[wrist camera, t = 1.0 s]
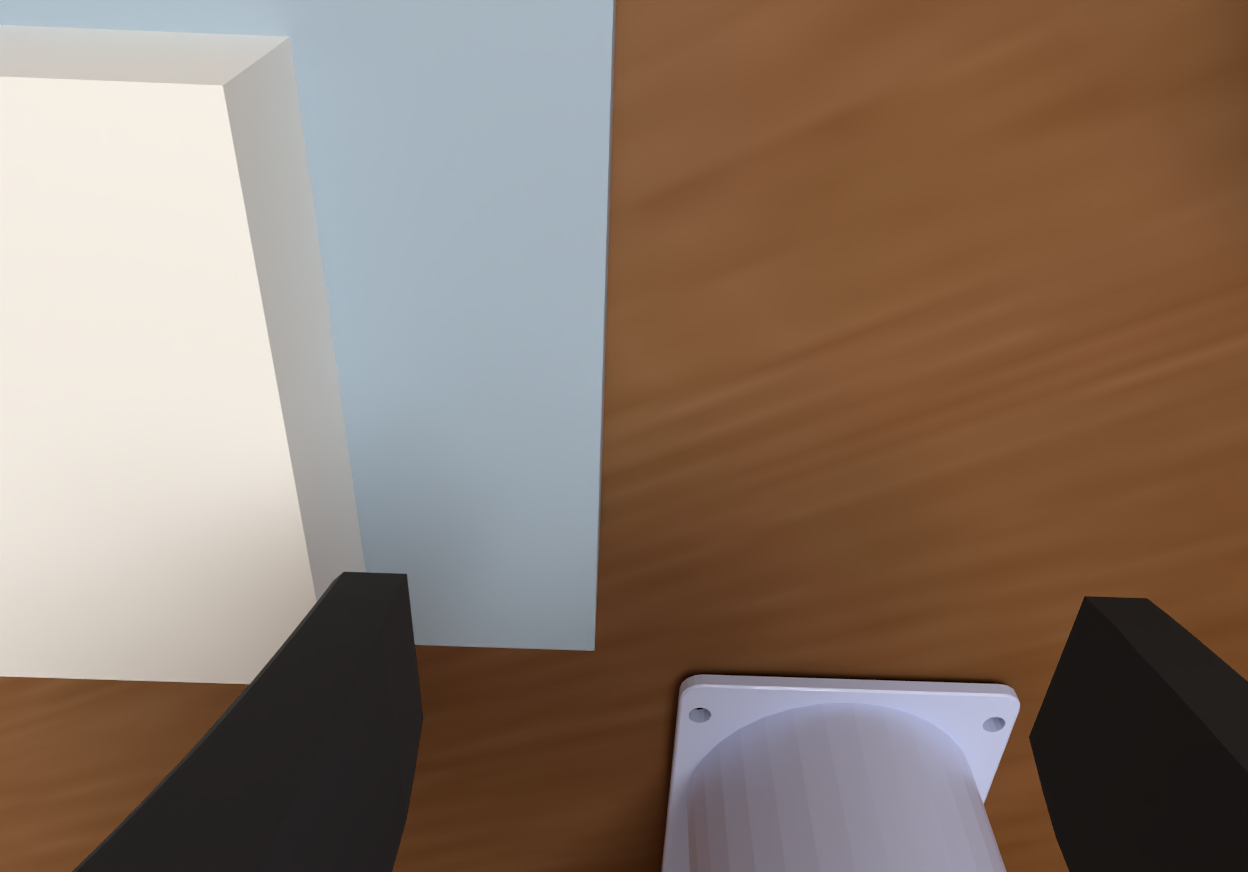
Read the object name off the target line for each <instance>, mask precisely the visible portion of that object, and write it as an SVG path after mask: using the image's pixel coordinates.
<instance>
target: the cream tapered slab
mask: <svg viewBox="0 0 1248 872" xmlns="http://www.w3.org/2000/svg"><path fill="white" fill-rule="evenodd" d="M343 572H366V570H365V563H364V556H363V549H362V542H361V535H360V527H359V520H358V513H357V506H356V499H355V492H354V485H353V478H352V471H351V464H350V457H349V450H348V443H347V435H346V428H345V421H344V414H343V407H342V400H341V393H340V386H339V379H338V372H337V365H336V358H335V351H334V343H333V336H332V329H331V322H330V315H329V308H328V301H327V294H326V287H325V280H324V273H323V266H322V259H321V251H320V244H319V237H318V230H317V223H316V216H315V209H314V202H313V195H312V188H311V181H310V174H309V167H308V159H307V152H306V145H305V138H304V131H303V124H302V117H301V110H300V103H299V96H298V89H297V82H296V75H295V67H294V60H293V53H292V46H291V39H290V37H285V36H260V35H236V34H212V33H187V32H163V31H139V30H114V29H90V28H66V27H41V26H17V25H0V676H9V677H40V678H71V679H103V680H134V681H165V682H197V683H228V684H250V683H251V682H252V681H253V680H254V678H255V677H256V676H257V675H258V674H259V672H260V671H261V670H262V669H263V668H264V666H265V665H266V664H267V663H268V662H269V660H270V659H271V658H272V657H273V656H274V654H275V653H276V652H277V651H278V650H279V648H280V647H281V646H282V645H283V644H284V642H285V641H286V640H287V639H288V637H289V636H290V635H291V634H292V632H293V631H294V630H295V629H296V627H297V626H298V625H299V624H300V622H301V621H302V620H303V619H304V617H305V616H306V615H307V614H308V612H309V611H310V610H311V609H312V607H313V606H314V605H315V604H316V602H317V601H318V600H319V598H320V597H321V596H322V595H323V593H324V592H325V591H326V589H327V588H328V587H329V586H330V584H331V583H332V582H333V580H335V579H336V578H337V577H338V576H339V575H341V574H342V573H343Z"/></svg>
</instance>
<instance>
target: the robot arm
mask: <svg viewBox="0 0 1248 872" xmlns="http://www.w3.org/2000/svg"><path fill="white" fill-rule="evenodd" d="M695 708H704V709H700V710H696V709H695ZM1019 710H1020V702H1019V700H1018V697H1017V695H1016V693H1015V691H1014V690H1013V689H1012V688H1011V687H1009V686H1007V685H1002V684H983V683H952V682H921V681H890V680H859V679H828V678H797V677H766V676H735V675H704V674H701V675H694V676H691V677H689V678H687V679H686V680H685V681H683V682H682V684H681V686H680V689H679V699H678V709H677V719H676V729H675V740H674V750H673V760H672V770H671V780H670V790H669V800H668V810H667V821H666V831H665V841H664V851H663V861H662V871H661V872H1006V869H1005V866H1004V863H1003V860H1002V857H1001V855H1000V852H999V849H998V846H997V843H996V840H995V837H994V834H993V831H992V828H991V825H990V823H989V820H988V817H987V814H986V811H985V808H984V805H983V804H984V802H985V799H986V797H987V794H988V791H989V789H990V786H991V783H992V781H993V778H994V775H995V773H996V770H997V768H998V765H999V762H1000V760H1001V757H1002V754H1003V752H1004V749H1005V747H1006V744H1007V741H1008V739H1009V736H1010V733H1011V731H1012V728H1013V725H1014V723H1015V720H1016V718H1017V715H1018V712H1019ZM989 718H990V719H989ZM422 721H423V714H422V705H421V696H420V687H419V678H418V669H417V660H416V651H415V642H414V633H413V624H412V615H411V606H410V597H409V588H408V579H407V574H400V573H370V572H343V573H342V574H341V575H339V576H338V577H337V578H336V579H335V580H333V582H332V583H331V584H330V586H329V587H328V588H327V589H326V591H325V592H324V593H323V595H322V596H321V597H320V598H319V600H318V601H317V602H316V604H315V605H314V606H313V607H312V609H311V610H310V611H309V612H308V614H307V615H306V616H305V617H304V619H303V620H302V621H301V622H300V624H299V625H298V626H297V627H296V629H295V630H294V631H293V632H292V634H291V635H290V636H289V637H288V639H287V640H286V641H285V642H284V644H283V645H282V646H281V647H280V648H279V650H278V651H277V652H276V653H275V654H274V656H273V657H272V658H271V659H270V660H269V662H268V663H267V664H266V665H265V666H264V668H263V669H262V670H261V671H260V672H259V674H258V675H257V676H256V677H255V678H254V680H253V681H252V682H251V683H250V684H249V685H248V687H247V688H246V689H245V690H244V691H243V692H242V693H241V695H240V696H239V697H238V698H237V699H236V700H235V701H234V702H233V704H232V705H231V706H230V707H229V708H228V709H227V710H226V712H225V713H224V714H223V715H222V716H221V717H220V718H219V720H218V721H217V722H216V723H215V724H214V725H213V726H212V728H211V729H210V730H209V731H208V732H207V733H206V734H205V735H204V737H203V738H202V739H201V740H200V741H199V742H198V743H197V744H196V746H195V747H194V748H193V749H192V750H191V751H190V752H189V753H188V754H187V755H186V756H185V758H184V759H183V760H182V761H181V762H180V763H179V764H178V765H177V766H176V767H175V768H174V769H173V770H172V771H171V772H170V773H169V774H168V775H167V776H166V777H165V778H164V779H163V781H162V782H161V783H160V784H159V785H158V786H157V787H156V788H155V789H154V790H153V791H152V792H151V793H150V794H149V795H148V796H147V797H146V798H145V799H144V800H143V801H142V802H141V803H140V804H139V805H138V806H137V807H136V809H135V810H134V811H133V812H132V813H131V814H130V815H129V816H128V817H127V818H126V819H125V820H124V821H123V822H122V823H121V824H120V825H119V826H118V827H117V828H116V829H115V830H114V831H113V832H112V833H111V834H110V835H109V836H108V837H107V838H106V839H105V840H104V841H103V842H102V843H101V844H100V845H99V846H98V847H97V848H96V849H95V850H94V851H93V852H92V853H91V854H90V855H89V856H88V857H87V858H86V859H85V860H84V861H83V862H82V863H81V864H80V865H78V866H77V867H76V868H75V869H74V870H73V871H72V872H392V870H393V866H394V863H395V859H396V855H397V852H398V848H399V844H400V841H401V837H402V833H403V830H404V826H405V822H406V818H407V813H408V807H409V801H410V796H411V790H412V784H413V778H414V772H415V766H416V759H417V753H418V747H419V740H420V734H421V727H422ZM1029 739H1030V743H1031V747H1032V750H1033V754H1034V758H1035V762H1036V766H1037V770H1038V774H1039V778H1040V782H1041V786H1042V790H1043V794H1044V797H1045V801H1046V804H1047V808H1048V811H1049V815H1050V818H1051V822H1052V825H1053V829H1054V832H1055V836H1056V838H1057V841H1058V844H1059V846H1060V849H1061V851H1062V854H1063V856H1064V859H1065V861H1066V864H1067V866H1068V869H1069V871H1070V872H1248V682H1247V681H1246V680H1245V679H1244V678H1243V677H1242V676H1240V675H1239V674H1238V673H1237V672H1236V671H1235V670H1233V669H1232V668H1231V667H1230V666H1229V665H1227V664H1226V663H1225V662H1224V661H1223V660H1222V659H1220V658H1219V657H1218V656H1217V655H1216V654H1215V653H1213V652H1212V651H1211V650H1210V649H1209V648H1207V647H1206V646H1205V645H1204V644H1203V643H1202V642H1200V641H1199V640H1198V639H1197V638H1196V637H1194V636H1193V635H1192V634H1191V633H1190V632H1188V631H1187V630H1186V629H1185V628H1184V627H1182V626H1181V625H1180V624H1179V623H1177V622H1176V621H1175V620H1174V619H1173V618H1171V617H1170V616H1169V615H1168V614H1166V613H1165V612H1164V611H1162V610H1161V609H1160V608H1159V607H1157V606H1156V605H1155V604H1153V603H1152V602H1151V601H1150V600H1148V599H1146V598H1117V597H1087V596H1085V597H1084V600H1083V602H1082V605H1081V607H1080V610H1079V612H1078V615H1077V617H1076V620H1075V622H1074V625H1073V627H1072V630H1071V632H1070V635H1069V637H1068V640H1067V643H1066V645H1065V648H1064V650H1063V653H1062V655H1061V658H1060V660H1059V663H1058V665H1057V668H1056V670H1055V673H1054V675H1053V678H1052V680H1051V683H1050V685H1049V688H1048V690H1047V693H1046V696H1045V698H1044V701H1043V703H1042V706H1041V708H1040V711H1039V713H1038V716H1037V718H1036V721H1035V723H1034V726H1033V728H1032V731H1031V733H1030V736H1029Z"/></svg>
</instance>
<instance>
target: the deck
mask: <svg viewBox="0 0 1248 872" xmlns="http://www.w3.org/2000/svg"><path fill="white" fill-rule="evenodd" d="M615 18H616V0H0V25H17V26H41V27H66V28H90V29H114V30H139V31H163V32H187V33H212V34H236V35H260V36H285V37H290V39H291V46H292V53H293V60H294V67H295V75H296V82H297V89H298V96H299V103H300V110H301V117H302V124H303V131H304V138H305V145H306V152H307V159H308V167H309V174H310V181H311V188H312V195H313V202H314V209H315V216H316V223H317V230H318V237H319V244H320V251H321V259H322V266H323V273H324V280H325V287H326V294H327V301H328V308H329V315H330V322H331V329H332V336H333V343H334V351H335V358H336V365H337V372H338V379H339V386H340V393H341V400H342V407H343V414H344V421H345V428H346V435H347V443H348V450H349V457H350V464H351V471H352V478H353V485H354V492H355V499H356V506H357V513H358V520H359V527H360V535H361V542H362V549H363V556H364V563H365V570H366V572H370V573H400V574H407V579H408V588H409V597H410V606H411V615H412V624H413V633H414V642H415V645H434V646H465V647H495V648H526V649H557V650H587V651H594V649H595V627H596V605H597V583H598V561H599V539H600V510H601V477H602V444H603V411H604V379H605V346H606V313H607V280H608V248H609V215H610V182H611V149H612V116H613V84H614V51H615Z"/></svg>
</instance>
